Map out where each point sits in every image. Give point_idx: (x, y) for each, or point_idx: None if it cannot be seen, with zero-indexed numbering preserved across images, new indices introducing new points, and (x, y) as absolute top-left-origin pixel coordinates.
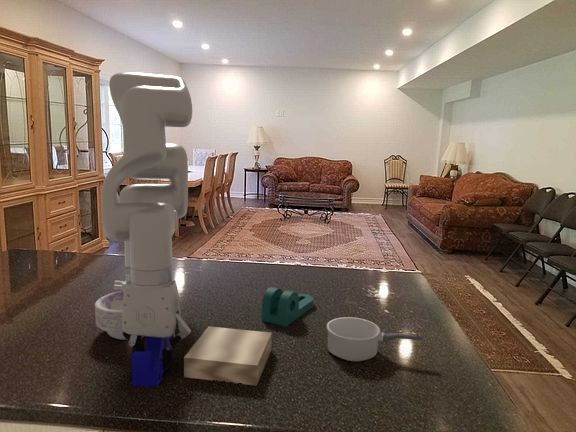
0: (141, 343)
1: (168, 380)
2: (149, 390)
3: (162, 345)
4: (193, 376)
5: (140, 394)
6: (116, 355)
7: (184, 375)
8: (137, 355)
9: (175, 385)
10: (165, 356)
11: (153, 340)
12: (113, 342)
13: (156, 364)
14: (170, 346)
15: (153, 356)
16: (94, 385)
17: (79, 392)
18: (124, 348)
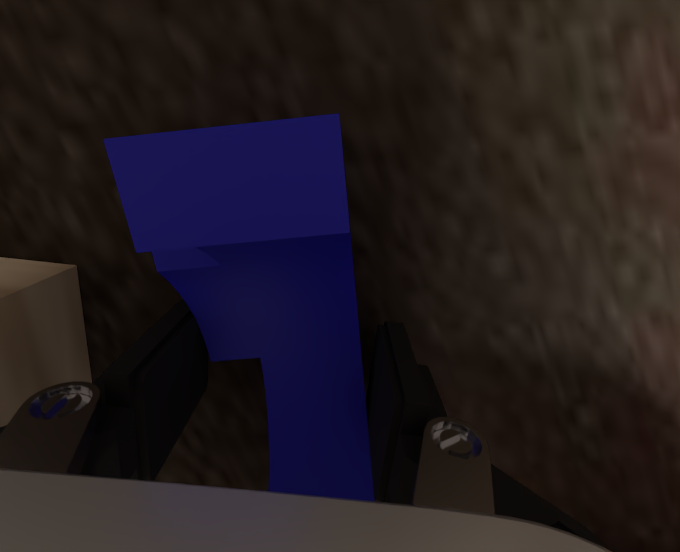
0: (383, 473)
1: None
2: (213, 93)
3: None
4: (8, 262)
5: (250, 36)
6: (541, 437)
7: (66, 267)
8: (256, 122)
9: (81, 170)
10: (137, 343)
11: None
12: None
13: (183, 252)
14: (28, 408)
15: (301, 404)
16: (588, 117)
17: (669, 16)
18: None
